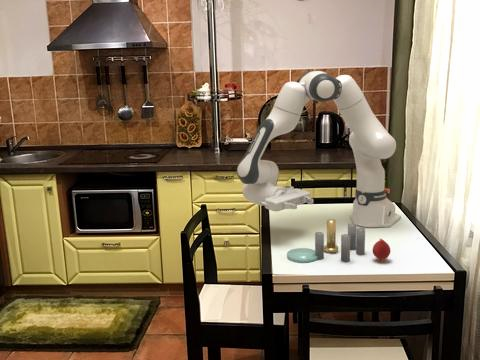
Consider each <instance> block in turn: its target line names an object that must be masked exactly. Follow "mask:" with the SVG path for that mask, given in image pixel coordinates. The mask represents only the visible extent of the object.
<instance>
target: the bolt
mask: <svg viewBox="0 0 480 360" xmlns="http://www.w3.org/2000/svg"><path fill="white" fill-rule="evenodd" d="M336 236H337V221H336V219H331V218H329V219H326V245H325V244H324V253H325V254H329V255H333V254H334V255H335V254H338V253H339V246H337V244H336V243H337V241H336V239H337V237H336Z"/></svg>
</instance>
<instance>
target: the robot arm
mask: <svg viewBox="0 0 480 360" xmlns="http://www.w3.org/2000/svg"><path fill="white" fill-rule="evenodd" d="M311 100H313V101H316V102H319V103H327V102H329V101H333V102H334V103H335V105H336V107H337V110H338V112H339V113H340V115H341V117H342V120H343V121H344V123H345V125H346V127H348V128H349V129H350V130H351V132H350V134H349V138H348V142H349V143H348V144H349V146H350V147H351V149H352V152H353V157H354V163H355V166H356V167H355V168H356V188H355V193H354V195H355V197H354V198H355V199H354V200H353V203H352V204H353V205H352V210H351V211H352V213H351V215H349V219H350V220H351V222H352V223H351V224H356V226H358V227H362V228H389V227H392V226H393V225H394V224H395V223H397V222H398V221H399V220H401V219H402V216H401V215H400V214H398V213H396V205H395V204H394V203H393V202H392V201H391V200H390V199H389V198H388V196H387V194H390V191H391V190H390V188H385V183H386V181H385V179H386V176H385V175H386V170H385V168H384V167H383V165H382V161H381V160H386V159H389V158H391V157H392V156H393V155H394V153H395V152H396V149H397V142H396V140H395V138H394V137H393V136H392V135H391V134H390V133H389V132H388V131H387V129H386V128H385V127H384V126H383V124H382V123H381V121H380V120H379V119H378V118H377V117H376V115H375V113H374V112H373V111H372V108H371V107H370V104H369V102H368V101H367V99H366V97H365V95H364V93H363V91H362V89H361V87H359V85H358V84H357V82H356V81H355V79H354V78H353V77H352V76H351V75H348V74H341V75H338V76H337V77H335V76H333V75H331V74H329V73H328V72H325V71H322V70H308V71H307V72H305V73H304V74H303V75H302V76H301V77H300V78H299V79H298V80H296V81H287V82H285V83H284V84H283V85H282V87H281V88H280V91H279V93H278V96H277V97H276V99H275V101H274V104H273V107H272V109H271V111H270V113H269V115H268V116H267V117H266V118H265V119H264V120H263V121H262V122H261V123H260V124H259V126H258V128H257V130H256V132H255V134H254V136H253V138H252V140H251V142H250V144H249V146H248V148H247V150H246V152H245V154H244V155H243V157H242V158H241V159H240V161H239V162H238V165H237V167H236V175H237V177H238V179H239V181H240V182H241V183H242V184H243V186H242V190H241V191H242V196H243V197H244V199H245V200H247V201H248V202H249V203H252V204H254V205H258V206H264V209H267V210H269V211H271V212H281V211H284V210H296V209H298V206H300V205H303V204H306V203H307V205H313V204H314V199H313V198H311V193H310V192H309V191H307V190H304V189H300V188H294V186H291V185H289V186H288V185H287V186H280V185H278V181H279V178H280V176H279V175H280V170H279V165H278V164H277V163H276V162H275V161H272V160H268V159H267V160H266V159H261V158H262V156H263V154H264V152H265V151H266V148H267V147H268V144H270V142H271V140H273V139H274V138H277V137H279V136H281V135H286V134H288V133H290V132H292V131H293V130H294V129H295V128H296V127H297V125H298V123H299V121H300V119H301V115H302V113H303V109H304V107H305V106H306V104H307V103H308V102H310V101H311ZM277 185H278V186H277Z"/></svg>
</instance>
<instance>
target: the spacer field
mask: <svg viewBox="0 0 480 360" xmlns="http://www.w3.org/2000/svg"><path fill="white" fill-rule="evenodd" d="M340 236H341V237H340V238H341V239H340V261H341V262H342V263H349V262H350V260H351V259H350V258H351V251H355V254H356V255H358V256H363V255H365V254H366V253H365V251H366V228H365V227H358V228H357V225H356V224H354V223H348V224H347V233H344V234H341V235H340ZM324 246H325V233H324V232H322V231H317V232H315V233H314V250H315V255H316V256H317V260H324V258H325V254H324V253H325V252H324Z"/></svg>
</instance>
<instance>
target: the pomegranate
mask: <svg viewBox="0 0 480 360" xmlns="http://www.w3.org/2000/svg"><path fill="white" fill-rule="evenodd" d="M372 254H373V256H374V257H375V258H376V259H378V261H379V262H382V261H384V260H386V259H388V258H389V256H390V255H391V247H390V245H389V244H388V242H386V241H385V240H384V239H383V238H381V237H380V238H379V240H378V241H376V242H375V244H373V247H372Z"/></svg>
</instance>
